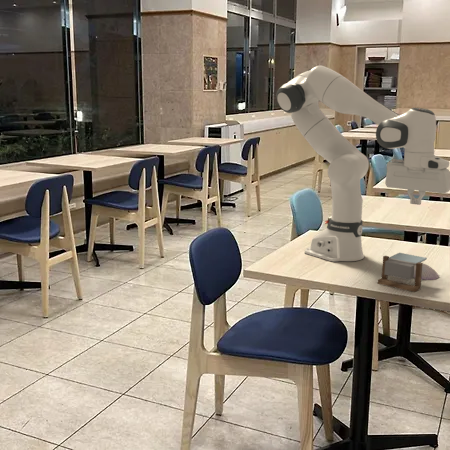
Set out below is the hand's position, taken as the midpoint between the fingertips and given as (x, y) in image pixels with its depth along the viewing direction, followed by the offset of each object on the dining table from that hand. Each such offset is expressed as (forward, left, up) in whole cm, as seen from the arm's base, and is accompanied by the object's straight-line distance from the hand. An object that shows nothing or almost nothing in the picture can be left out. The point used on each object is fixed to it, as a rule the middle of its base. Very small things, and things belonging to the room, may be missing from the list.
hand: (415, 204), depth 183 cm
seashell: (+1, +9, -26) cm, 28 cm away
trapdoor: (-1, -3, -22) cm, 23 cm away
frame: (-1, -7, -26) cm, 27 cm away
